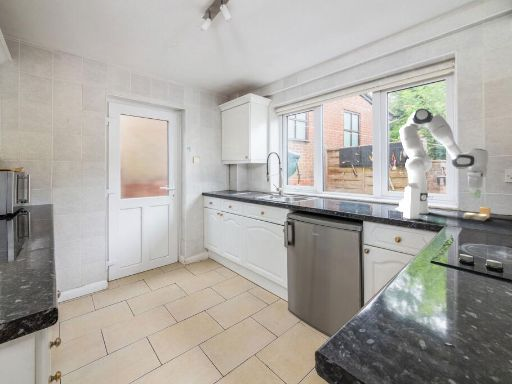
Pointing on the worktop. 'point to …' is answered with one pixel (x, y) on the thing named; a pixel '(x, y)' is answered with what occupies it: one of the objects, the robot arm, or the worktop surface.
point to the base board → (475, 216)
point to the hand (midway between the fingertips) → (474, 194)
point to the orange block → (484, 211)
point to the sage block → (477, 194)
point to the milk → (411, 201)
